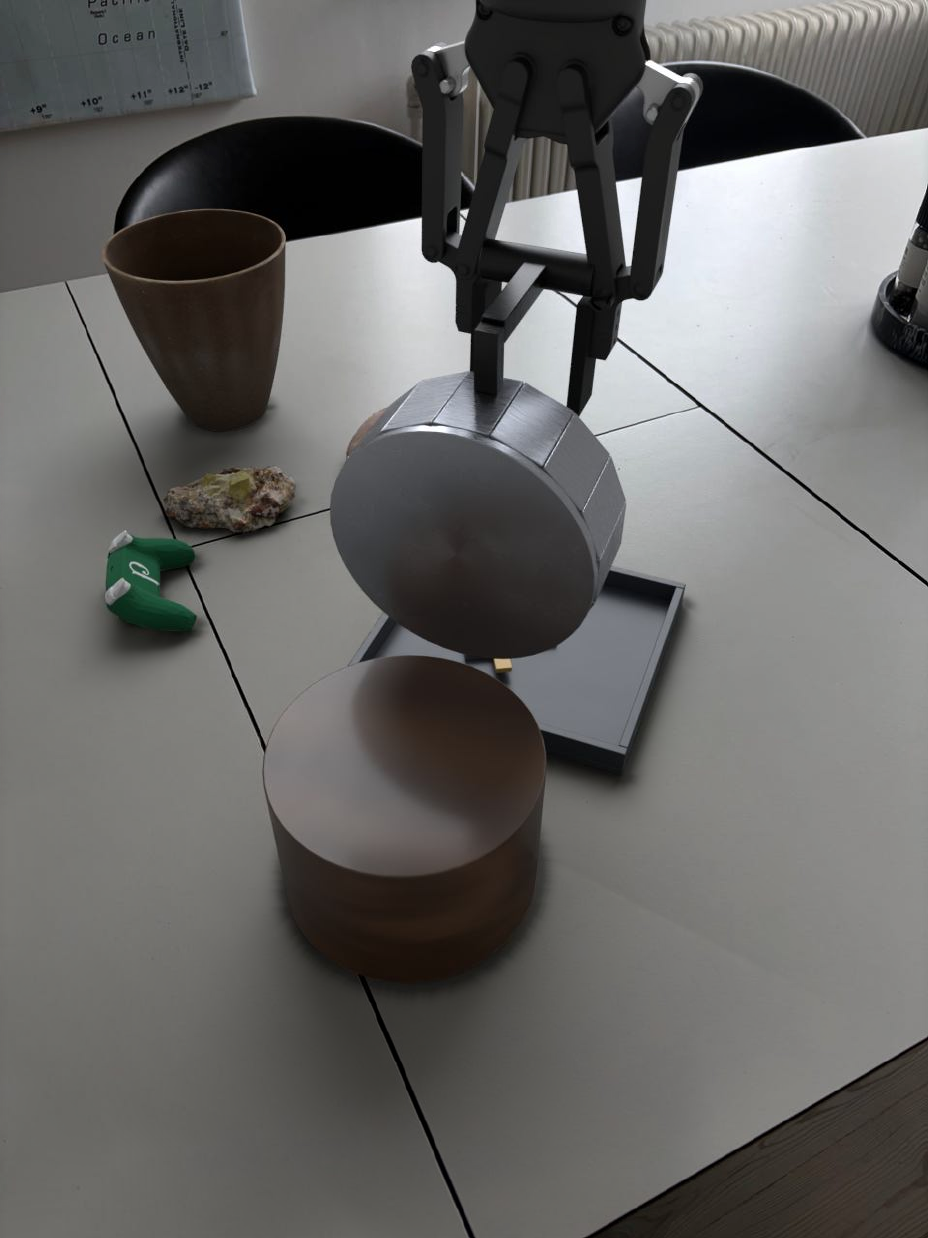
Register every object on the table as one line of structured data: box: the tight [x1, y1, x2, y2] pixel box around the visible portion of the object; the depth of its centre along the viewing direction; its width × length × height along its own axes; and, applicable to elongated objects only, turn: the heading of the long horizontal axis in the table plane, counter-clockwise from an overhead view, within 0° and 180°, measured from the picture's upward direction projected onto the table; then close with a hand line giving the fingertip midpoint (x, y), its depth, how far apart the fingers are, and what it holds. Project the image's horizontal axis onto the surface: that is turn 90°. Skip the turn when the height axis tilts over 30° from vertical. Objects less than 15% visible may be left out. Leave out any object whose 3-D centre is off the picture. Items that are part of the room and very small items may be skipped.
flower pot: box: [101, 208, 287, 432], centre depth 89 cm, size 15×15×16 cm
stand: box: [261, 655, 548, 984], centre depth 54 cm, size 14×14×10 cm
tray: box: [347, 565, 687, 776], centre depth 70 cm, size 17×19×2 cm
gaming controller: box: [104, 529, 198, 632], centre depth 74 cm, size 9×4×6 cm
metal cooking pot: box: [329, 238, 627, 659], centre depth 54 cm, size 18×14×13 cm
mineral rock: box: [163, 465, 297, 534], centre depth 82 cm, size 11×4×8 cm
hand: (530, 393), depth 57 cm, fingers closed on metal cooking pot, 5 cm apart
